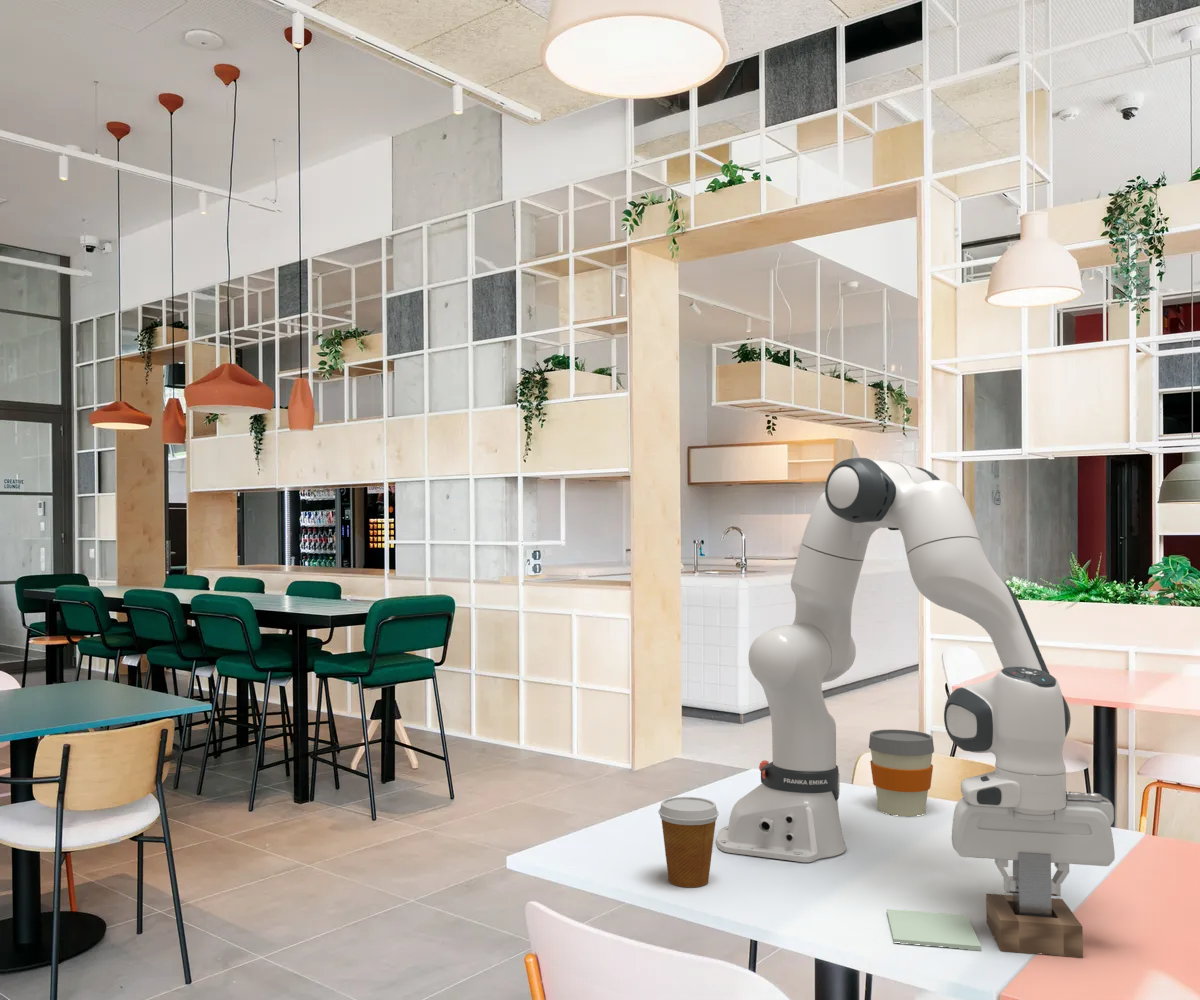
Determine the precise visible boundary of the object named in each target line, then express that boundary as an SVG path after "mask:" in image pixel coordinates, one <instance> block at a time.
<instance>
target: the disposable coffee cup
mask: <svg viewBox="0 0 1200 1000" xmlns="http://www.w3.org/2000/svg"><path fill="white" fill-rule="evenodd" d="M657 812H658V815H659V818H660V819H661V824H662V826H661V827H662V828H661V829H662V835H663V843H664V853H665V854H664V855H665V861H666V862H665V863H666V868H667V877H668V881H669V883H671V884H672V885H674V886H676V887H681V888H699V887H702V886H706V885H707V884H708V883H709V881H710V880H709V879H710V871H711V870H710V869H711V863H712V854H713V848H714V847H713V845H714V838H715V830H716V821H717V820H718V816H719V814H720V813H719V812H720V811H719V810H717V805H716V803H715V802H714V801H712V800H710V799H707V798H702V797H695V796H678V797H671V798H666V799H665V800H662V801H661V804H660V808H659V809H658V811H657Z"/></svg>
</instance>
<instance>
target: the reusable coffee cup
mask: <svg viewBox="0 0 1200 1000" xmlns="http://www.w3.org/2000/svg"><path fill="white" fill-rule="evenodd" d="M868 748H869V749H870V753H871V755H870V756H871V760H870V761H869V762H870V771H871V776H872V777H871V778H872V784H873V785H874V786H875V791H876V798H877V807H878V811H879V810H880V811H879V812H881V811H882V812H884V813H883V814H885V813H887V814H886V815H888V814H891V815H890V816H893V815H898V816H897V817H900V816H917V815H922V814H924V813H925V814H926V808H927V800H928V793H929V790H930V789H931V787H932V777H933V769H934V765H933V764H932V758H933V754H934V753H935V747H934V739H933V736H932V735H931V734H929V733H926V732H921V731H915V730H908V729H879V730H874V731H871V732H870V733H869V743H868ZM882 812H881V813H882ZM925 814H924V815H925ZM922 816H923V815H922Z"/></svg>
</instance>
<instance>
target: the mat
mask: <svg viewBox="0 0 1200 1000" xmlns="http://www.w3.org/2000/svg"><path fill="white" fill-rule="evenodd" d="M887 915H888V917H887V920H888V919H889V921H888V925H889V924H890V925H889V929H890V928H891V929H890V933H891V932H892V934H891V937H892V936H893V938H892V940H894V942H900V943H908V944H920V945H930V946H943V947H949V948H948V949H952V948H959V949H958V950H964V949H968V950H967V951H976V950H977V951H978V950H979V951H978V952H981V951H982V945H981V943H980V941H979V939H978V937H977V934H976V932H975V930H974V928H973V925H972V922H971V921H970V919H969V917H968V915H967V914H966V915H965V914H954V913H941V912H933V911H932V912H930V911H916V910H903V909H893V908H892V909H891V908H886V916H887ZM894 942H893V943H894Z"/></svg>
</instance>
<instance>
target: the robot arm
mask: <svg viewBox="0 0 1200 1000" xmlns="http://www.w3.org/2000/svg"><path fill="white" fill-rule="evenodd" d="M881 528H882V529H888V530H889V531H900V534H901V536H902V539H903V543H904V548H905V553H906V559H907V562H908V567H909V572H910V575H911V578H912V580H913V583H914V584H915V585H914V586H915V587H916V588H917V590H918V592H919V593H920V594H921V595H922V596H923V597H924V598H925V599H927V600H928V601H930V602H931V603H932V604H935V605H937V606H939V607H941V608H943V609H946V610H949V611H952V612H954V613H957V614H960V615H962V616H964V617H966V618H969V619H970V620H971V621H974V622H975V623H977V624H978V625H980V627H982V629H984V630H985V631H986V633H987V634H988V635H989V636H990V639H991V641H992V643H993V646H994V648H995V651H996V653H997V655H998V658H999V661H1000V662H1001V666H1002V667H1003V668H1002V669H1001V670H999V671H997V673H996V675H995V676H993V677H992V678H989V679H988V680H986V681H983V682H979V683H975V684H971V685H966V686H963V687H958V688H955V690H953V691H952V692H951V693H950V695H949V696H948V698H947V700H946V702H945V705H944V711H943V722H944V727H945V730H946V732H947V735H948V737H949V738H950V740H951V741H952V743H954V745H956V746H957V747H958V748H959V749H961V750H963V751H965V752H971V753H974V754H975V753H976V754H986V753H987V754H988V753H991V754H993V755H994V757H995V764H994V766H995V770H993V771H991V772H987V773H983V774H978V775H974V776H971V777H967V778H964V779H962V780H961V781H960V792H961V795H962V797H961V798H959V800H958V801H957V803H956V804H955V808H954V809H953V810H954V812H953V816H952V817H953V818H952V825H951V826H952V827H951V845H952V848H953V850H954V851H955V852H956V853H957V855H959V856H960V857H961V858H975V859H989V860H990V859H992V860H994V865H996V867H997V869H998V871H999V872H1000V874H1001V876H1002V877H1003V878H1002V879H1003V882H1002V883H1003V890H1004V892H1005V893H1006V894H1007V893H1008V894H1011V893H1012V894H1013V893H1017V888H1016V887H1017V880H1016V878H1015V877H1013V875H1012V876H1010V875H1009V874H1008V873H1007V870H1006V869H1005V868H1009V861H1013V860H1018V852H1022V853H1038V854H1051V864H1054V867H1055V868H1056V871H1055V873H1054V875H1053V876H1052V877H1051V897H1061V895H1062V893H1061V890H1062V889H1061V887H1062V884H1063V883H1064V881H1065V880H1066V878H1067V876H1068V875H1069V873H1070V865H1078V866H1079V865H1081V866H1082V865H1083V866H1097V867H1109V866H1111V865H1112V864H1113V862H1114V861H1115V858H1116V854H1115V844H1114V837H1113V832H1112V827H1111V826H1112V825H1113V823H1114V820H1115V807H1114V804H1113V803H1112V801H1111V800H1110V799H1108V798H1107V797H1105V796H1102V794H1101V793H1096V792H1089V793H1086V792H1080V791H1067V768H1066V764H1065V761H1064V760H1065V759H1064V757H1063V750H1064V749H1063V748H1064V746H1065V745H1064V744H1065V743H1066V738H1067V736H1068V732H1069V731H1070V730H1069V729H1070V727H1071V726H1070V725H1071V721H1072V720H1071V712H1070V707H1069V705H1068V703H1067V700H1066V698H1065V696H1064V695H1063V692H1062V690H1061V689H1062V688H1061V686H1060V684H1059V682H1058V680H1057V677H1056V678H1055V677H1054V676H1053V675H1052V674H1050V671H1049V669H1048V668H1047V665H1046V662H1045V660H1044V657H1043V656H1042V654H1041V650H1040V649H1039V645H1038V644H1037V641H1036V638H1035V636H1034V633H1033V632H1032V629H1031V627H1030V625H1029V622H1028V620H1027V617H1026V615H1025V613H1024V611H1023V609H1022V607H1021V605H1020V602H1019V600H1018V599H1017V598H1018V597H1016V595H1015V593H1014V591H1013V589H1012V588H1011V587H1010V586H1009V585H1008V584H1007V583H1006V582H1005V581H1004V580H1002V579H1001V578H1000V576H999V575H998V574H997V573H996V571H995V570H994V568H993V567H992V565H991V563H990V562H989V560H988V558H987V556H986V554H985V551H984V548H983V545H982V542H981V538H980V535H979V532H978V529H977V526H976V523H975V519H974V517H973V515H972V512H971V509H970V508H969V506H968V503H967V501H966V500H965V498H964V495H963V494H962V491H961V490H960V489H959V488H958V486H957V485H955V484H954V483H951V482H950V481H947V480H942V479H940V478H939V477H938V476H937V475H936V474H934V473H933V472H931V471H929V470H927V469H925V468H923V467H917V466H916V467H915V466H912V465H909V464H906V463H902V462H899V461H893V460H878V459H870V458H867V457H852V458H847V459H844V460H841V461H839V462H838V463H837V464H835V465H834V466H833V468H832V469H831V471H830V472H829V474H828V476H827V479H826V481H825V486H824V492H823V493H822V494H821V495H820V496H819V497H818V498H817V501H816V504H815V505H814V507H813V509H812V512H811V514H810V517H809V518H808V521H807V524H806V527H805V529H804V531H803V536H802V538H801V543H800V546H799V550H798V553H797V558H796V560H795V565H794V569H793V572H792V576H791V579H790V589H791V591H792V592H793V594H794V596H795V614H794V615H795V616H794V620H793V622H792V624H788V625H780V626H779V625H778V626H775V627H772V628H771V629H769V630H767V631H765V632H763V633H762V634H760V635H759V636H757V637H756V638H755V639H754V640H753V642H752V643H751V645H750V647H749V651H748V665H749V668H750V671H751V673H752V675H753V677H754V678H755V679H756V680H757V681H758V682H759V683H760V685H761V686H762V689H763V691H764V694H765V698H766V702H767V705H768V710H769V713H770V718H771V719H770V720H771V739H772V741H771V743H772V744H771V745H772V746H771V747H772V749H771V750H772V755H771V756H772V758H771V759H772V761H771V762H770V761H768V760H765V759H764V760H761V761H760V763H759V765H758V770H759V771H760V782H761V784H759V785H758V786H756V787H755V788H754V789H752V790H751V791H749V792H748V793H746V794H745V795H744V796H743V797H741V798H739V800H738V801H736V802H735V804H734V805H733V807H732V809H731V811H730V815H729V821H728V825H726V826H724V827H722V828H721V829H719V831H717V834H716V840H715V841H716V842H715V843H716V846H717V848H718V849H719V850H720V851H723V852H724V853H729V854H730V853H731V854H738V855H746V856H752V857H758V858H759V857H762V858H767V859H776V860H783V861H793V862H801V863H811V862H814V861H817V860H819V859H825V858H832V857H835V856H838V855H841V854H843V853H845V851H846V849H847V845H846V842H845V838H844V835H843V831H842V829H843V828H842V825H841V819H840V812H839V805H838V804H839V802H838V800H839V798H840V787H841V786H840V784H841V781H840V779H841V778H840V772H839V766H838V765H837V724H836V721H835V718H834V717H833V716H832V715H831V714H830V712H829V710H828V708H827V705H826V702H825V697H824V693H823V688H822V684H824V683H829V682H832V681H835V680H837V679H838V678H840V677H841V676H842V675H844V674H845V673H847V671H849V670H850V668H851V667H852V666H853V665H854V662H855V659H856V653H857V650H856V644H855V640H854V639H853V637H852V612H853V611H852V610H853V603H854V598H855V594H856V589H857V586H858V582H859V578H860V575H861V572H862V567H863V564H864V560H865V557H866V554H867V553H866V552H867V549H868V545H869V542H870V539H871V537H872V535H873V534H874V533H875V532H876V531H877V530H878V529H881Z"/></svg>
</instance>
